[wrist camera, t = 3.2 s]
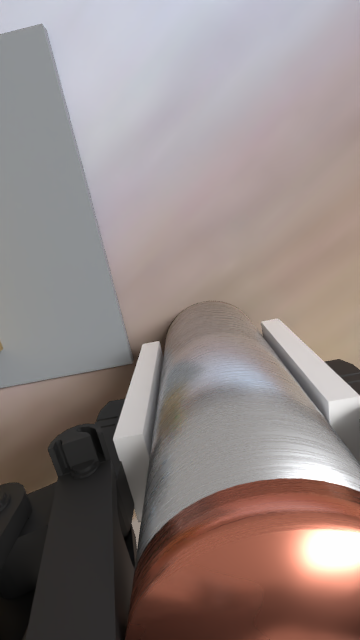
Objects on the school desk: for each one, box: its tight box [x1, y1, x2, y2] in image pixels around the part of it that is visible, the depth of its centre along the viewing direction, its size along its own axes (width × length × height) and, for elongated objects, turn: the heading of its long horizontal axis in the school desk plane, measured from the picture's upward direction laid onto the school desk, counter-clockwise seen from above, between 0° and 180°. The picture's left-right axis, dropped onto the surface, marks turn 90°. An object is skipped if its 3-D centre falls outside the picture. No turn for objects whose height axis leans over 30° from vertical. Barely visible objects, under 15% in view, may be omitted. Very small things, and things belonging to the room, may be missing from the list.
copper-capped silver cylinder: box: [125, 301, 360, 640], centre depth 10 cm, size 5×5×12 cm
